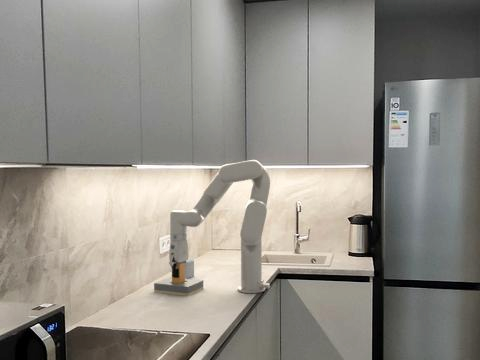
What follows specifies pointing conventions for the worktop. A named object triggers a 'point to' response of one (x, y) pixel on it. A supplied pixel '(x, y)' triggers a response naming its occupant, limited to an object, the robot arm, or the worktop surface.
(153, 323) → the worktop surface
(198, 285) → the socket block
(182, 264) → the plug
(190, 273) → the medicine box
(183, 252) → the robot arm
